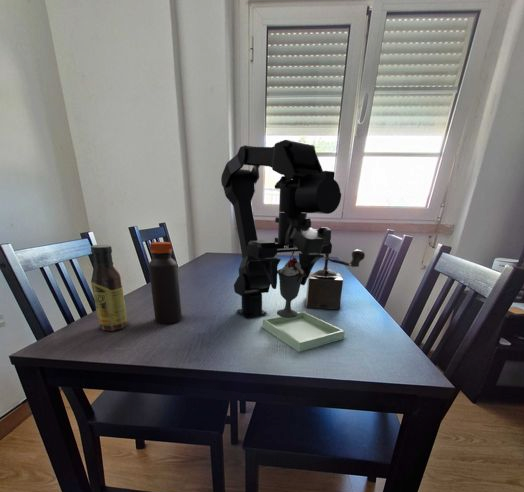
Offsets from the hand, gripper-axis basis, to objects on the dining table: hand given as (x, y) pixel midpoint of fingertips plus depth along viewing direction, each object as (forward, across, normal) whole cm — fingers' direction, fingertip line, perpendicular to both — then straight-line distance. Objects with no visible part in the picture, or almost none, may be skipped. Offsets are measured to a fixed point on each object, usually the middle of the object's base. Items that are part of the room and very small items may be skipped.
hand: (288, 286), depth 63 cm
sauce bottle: (+12, -36, +23) cm, 44 cm away
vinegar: (+12, -22, +23) cm, 34 cm away
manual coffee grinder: (+12, +26, +13) cm, 31 cm away
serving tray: (+12, +4, -1) cm, 13 cm away
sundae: (+7, +1, +1) cm, 7 cm away
